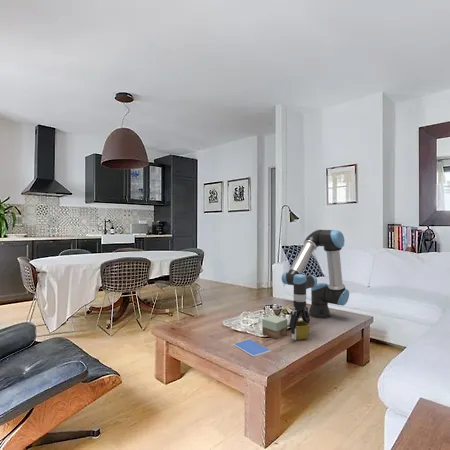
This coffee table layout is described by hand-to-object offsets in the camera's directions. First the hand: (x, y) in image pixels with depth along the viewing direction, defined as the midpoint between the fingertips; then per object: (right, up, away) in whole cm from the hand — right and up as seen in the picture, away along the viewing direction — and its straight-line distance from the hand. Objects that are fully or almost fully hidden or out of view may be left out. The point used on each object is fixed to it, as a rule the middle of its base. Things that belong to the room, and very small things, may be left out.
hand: (299, 336), depth 196 cm
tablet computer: (-30, -3, -14) cm, 33 cm away
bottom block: (-14, -1, +7) cm, 16 cm away
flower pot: (0, -1, 0) cm, 1 cm away
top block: (-14, +4, +7) cm, 16 cm away
